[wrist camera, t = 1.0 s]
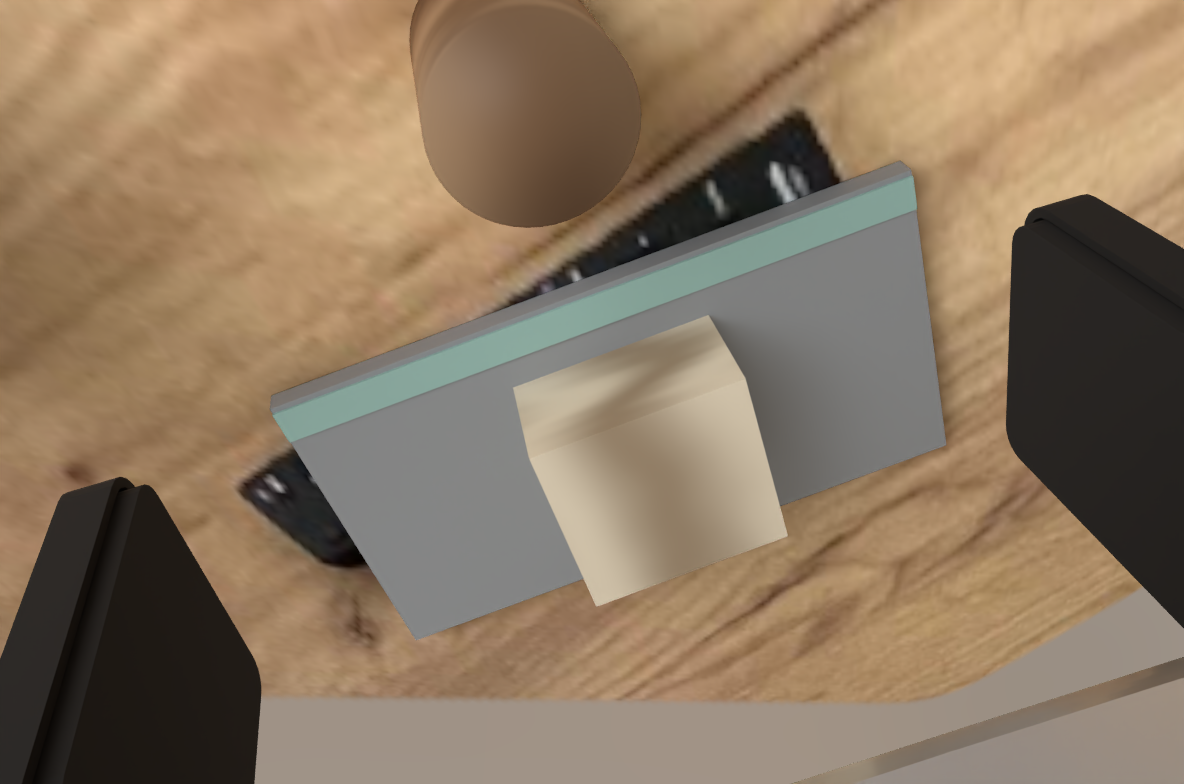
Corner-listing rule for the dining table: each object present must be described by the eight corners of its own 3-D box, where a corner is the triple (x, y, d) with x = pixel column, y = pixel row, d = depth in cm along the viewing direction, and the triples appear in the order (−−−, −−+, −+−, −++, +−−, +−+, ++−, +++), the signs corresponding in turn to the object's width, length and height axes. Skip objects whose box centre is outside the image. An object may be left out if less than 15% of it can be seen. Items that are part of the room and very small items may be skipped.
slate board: (900, 160, 33) (912, 171, 32) (936, 433, 40) (947, 446, 39) (271, 395, 33) (269, 410, 33) (415, 625, 40) (416, 642, 40)
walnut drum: (554, -79, 27) (605, -25, 21) (607, 95, 30) (665, 184, 24) (379, -13, 27) (385, 59, 22) (449, 154, 30) (470, 256, 24)
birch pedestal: (708, 314, 34) (745, 378, 31) (751, 465, 38) (787, 536, 35) (513, 387, 34) (529, 458, 31) (576, 530, 38) (596, 606, 35)
